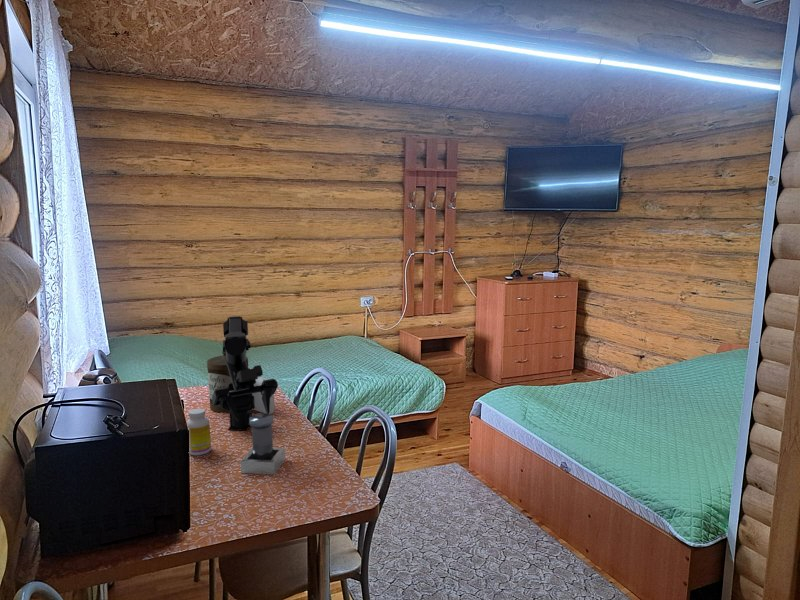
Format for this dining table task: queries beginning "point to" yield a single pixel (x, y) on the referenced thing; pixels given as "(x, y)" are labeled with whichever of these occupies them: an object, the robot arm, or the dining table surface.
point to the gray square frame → (263, 463)
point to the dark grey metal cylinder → (262, 436)
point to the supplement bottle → (199, 432)
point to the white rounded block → (258, 399)
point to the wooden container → (218, 377)
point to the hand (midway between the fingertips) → (253, 416)
